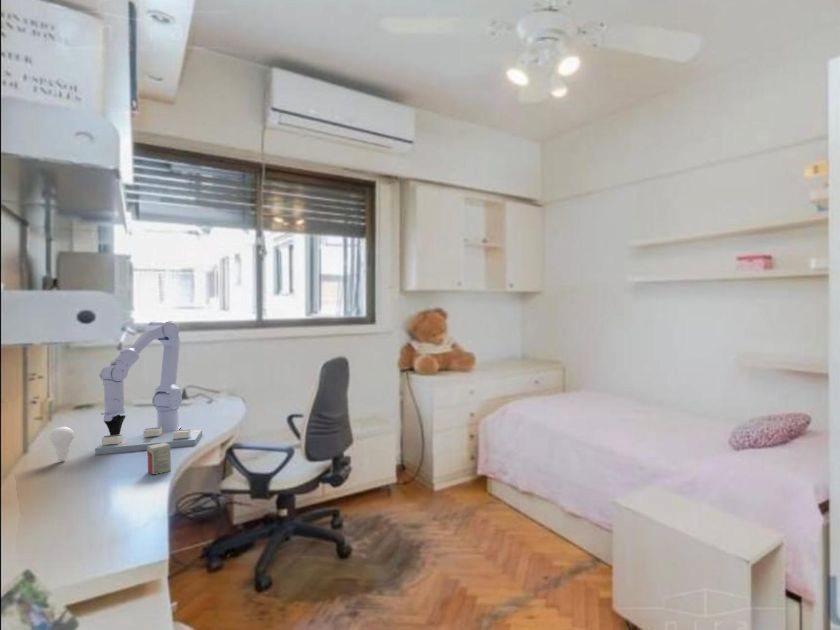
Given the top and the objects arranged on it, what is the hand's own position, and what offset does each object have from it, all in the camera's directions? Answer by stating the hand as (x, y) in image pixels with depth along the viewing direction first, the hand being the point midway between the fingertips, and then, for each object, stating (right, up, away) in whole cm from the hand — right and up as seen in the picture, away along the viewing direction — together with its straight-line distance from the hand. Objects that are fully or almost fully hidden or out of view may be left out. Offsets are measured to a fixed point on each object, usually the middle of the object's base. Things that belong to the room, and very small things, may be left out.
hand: (115, 437), depth 163 cm
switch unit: (+11, -3, +3) cm, 12 cm away
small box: (+31, -3, -27) cm, 41 cm away
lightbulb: (-7, -4, -15) cm, 17 cm away
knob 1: (+1, -1, -3) cm, 3 cm away
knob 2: (+10, -1, +6) cm, 12 cm away
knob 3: (+22, -1, +3) cm, 22 cm away
